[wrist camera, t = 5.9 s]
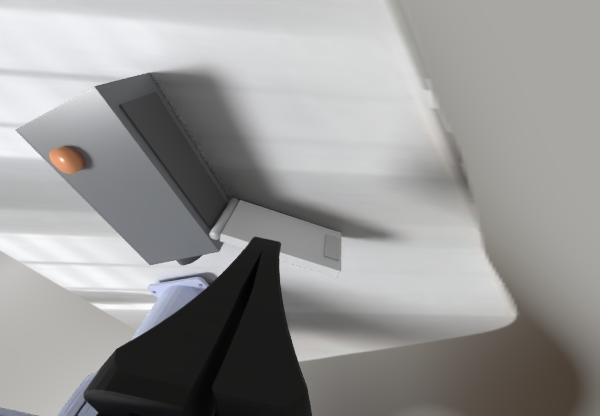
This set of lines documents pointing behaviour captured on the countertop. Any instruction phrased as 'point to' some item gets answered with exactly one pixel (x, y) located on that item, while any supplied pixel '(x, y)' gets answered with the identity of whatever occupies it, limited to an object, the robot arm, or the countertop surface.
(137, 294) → the countertop surface
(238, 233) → the side door
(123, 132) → the grey box
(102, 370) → the robot arm
